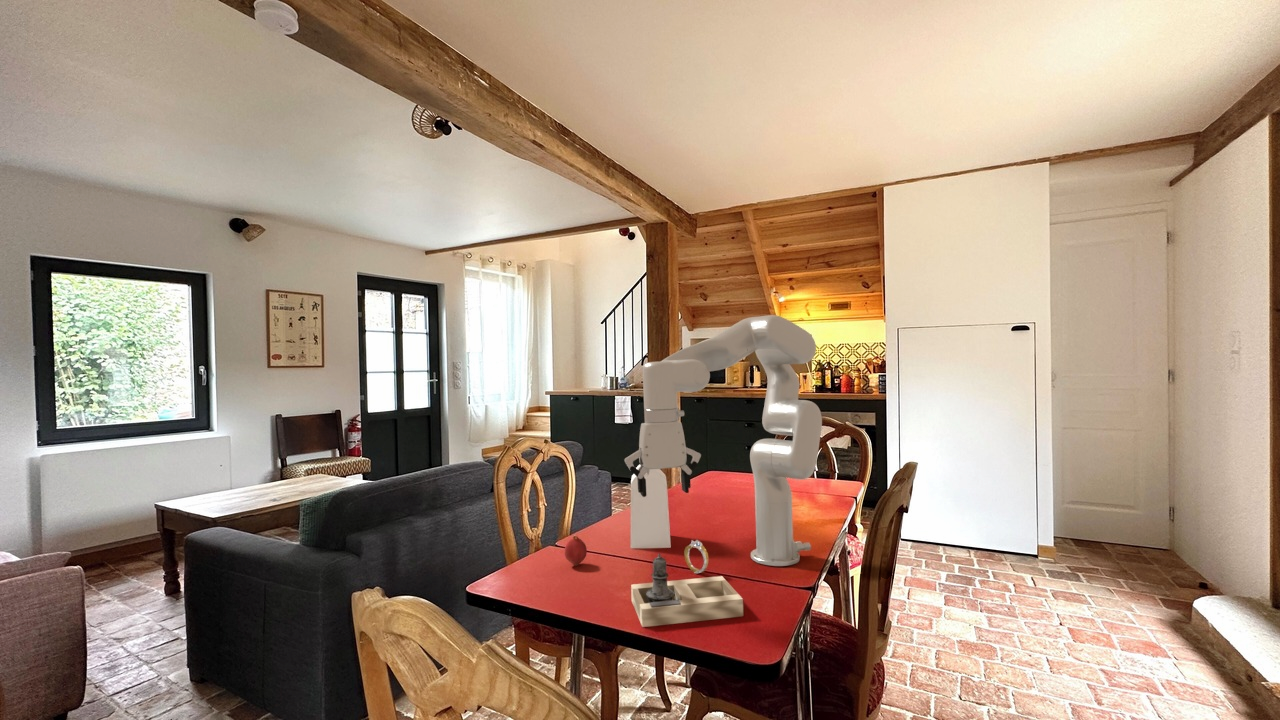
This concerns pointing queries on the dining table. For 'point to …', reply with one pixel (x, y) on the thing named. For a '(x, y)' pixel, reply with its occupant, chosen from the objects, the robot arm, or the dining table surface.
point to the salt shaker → (659, 582)
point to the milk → (650, 512)
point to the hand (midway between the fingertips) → (664, 493)
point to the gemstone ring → (704, 554)
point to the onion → (575, 551)
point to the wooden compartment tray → (688, 602)
